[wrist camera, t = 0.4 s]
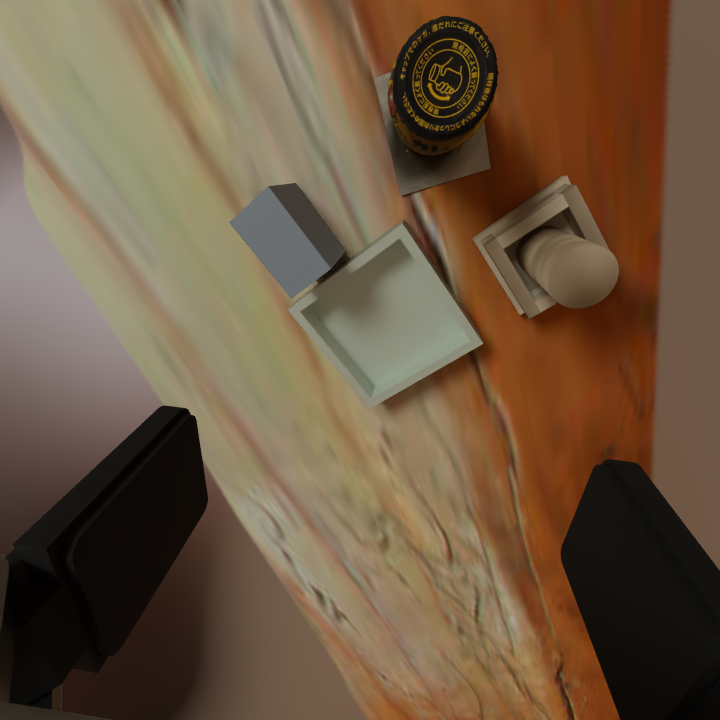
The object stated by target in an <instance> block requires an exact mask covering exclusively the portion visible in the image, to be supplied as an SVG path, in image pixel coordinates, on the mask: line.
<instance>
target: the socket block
mask: <svg viewBox="0 0 720 720" xmlns="http://www.w3.org/2000/svg"><path fill="white" fill-rule="evenodd" d="M546 225H547V226H553V227H556V228H558V229H561V230H563V231H566V232H568V233H571V234H573V235H575V236H578V237H580V238H583V239H585V240H587V241H590V242H592V243H595V244H597V245H599V246H602V247H604V248H606V249H608V250H609V248H608V246H607V244H606V242H605V240H604V238H603V237H602V235H601V233H600V231H599V229H598V227H597V225H596V223H595V221H594V219H593V217H592V215H591V213H590V211H589V209H588V207H587V205H586V203H585V201H584V199H583V198H582V196H581V194H580V192H579V190H578V188H577V186H576V185H571V183H570V181H569V179H568V177H567V176H561V177H560V178H559V179H557V180H556V181H554V182H553V183H551V184H550V185H548V186H547V187H545V188H544V189H543V190H541V191H540V192H538V193H537V194H535V195H534V196H532V197H531V198H529V199H528V200H526V201H525V202H524V203H522V204H521V205H519V206H518V207H516V208H515V209H513V210H512V211H510V212H509V213H507V214H506V215H505V216H503V217H502V218H500V219H499V220H497V221H496V222H494V223H493V224H491V225H490V226H489V227H487V228H486V229H484V230H483V231H481V232H480V233H478V234H477V235H475V236H474V237H472V239H473V241H474V243H475V244H476V246H477V247H478V249H479V251H480V252H481V254H482V255H483V257H484V259H485V260H486V262H487V263H488V265H489V267H490V268H491V270H492V271H493V273H494V275H495V276H496V278H497V279H498V281H499V283H500V284H501V286H502V287H503V289H504V291H505V292H506V294H507V295H508V297H509V299H510V300H511V302H512V304H513V305H514V307H515V308H516V310H517V312H518V313H519V314H520V315H521V314H523V313H525V314H526V315H527V316H528V317H529V319H530V318H532V317H534V316H535V315H537V314H539V313H541V312H542V311H544V310H546V309H548V308H549V307H551V306H553V305H555V304H556V303H558V302H557V301H556V300H555V299H554V298H553V297H552V296H551V295H550V294H549V293H547V292H546V291H545V290H544V289H543V288H542V287H541V286H540V285H539V284H538V283H537V282H536V281H535V280H533V279H532V278H531V277H530V276H529V275H528V274H527V273H526V272H525V271H524V270H523V269H522V268H521V267H520V266H519V264H518V261H517V257H516V251H517V247H518V244H519V242H520V240H521V239H522V237H523V236H524V235H526V234H527V233H529V232H530V231H532V230H533V229H535V228H536V227H539V226H546ZM609 251H610V250H609Z"/></svg>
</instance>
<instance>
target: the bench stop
mask: <svg viewBox="0 0 720 720" xmlns="http://www.w3.org/2000/svg"><path fill="white" fill-rule="evenodd" d="M229 223H230V224H231V225H232V227H233V228H234V229H235V230H236V231H237V233H238V234H239V235H240V236H241V238H242V239H243V240H244V241H245V242H246V244H247V245H248V246H249V247H250V249H251V250H252V251H253V252H254V253H255V255H256V256H257V257H258V258H259V260H260V261H261V262H262V263H263V265H264V266H265V267H266V268H267V269H268V271H269V272H270V273H271V274H272V276H273V277H274V278H275V279H276V280H277V282H278V283H279V284H280V285H281V287H282V288H283V289H284V290H285V291H286V293H287V294H288V295H289V296H290V298H291V299H292V298H293V297H295V296H296V295H297V294H299V293H300V292H301V291H303V290H304V289H305V288H307V287H308V286H309V285H310V284H312V283H313V282H314V281H316V280H317V279H318V278H320V277H321V276H322V275H324V274H325V273H326V272H328V271H329V270H330V269H331V268H332V267H333V266H334V265H335V264H336V262H337V261H338V260H339V259H340V258H341V256H342V255H343V254H344V253H345V252H346V251H345V250H344V248H343V247H342V246H341V244H340V243H339V242H338V240H337V239H336V238H335V236H334V235H333V233H332V232H331V231H330V229H329V228H328V227H327V225H326V224H325V223H324V221H323V220H322V219H321V217H320V216H319V214H318V213H317V212H316V210H315V209H314V208H313V206H312V205H311V204H310V202H309V201H308V200H307V198H306V197H305V195H304V194H303V193H302V191H301V190H300V189H299V187H298V186H297V185H296V183H292V184H284V185H276V186H268V187H267V188H266V189H265V190H264V191H263V192H262V193H261V194H259V195H258V196H257V197H256V198H255V199H254V200H253V201H252V202H251V203H250V204H249V205H248V206H246V207H245V208H244V209H243V210H242V211H241V212H240V213H239V214H238V215H237V216H236V217H235V218H233V219H232V220H231V221H230V222H229Z"/></svg>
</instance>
